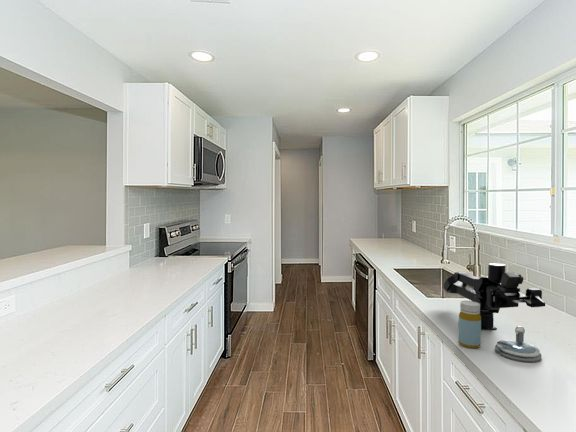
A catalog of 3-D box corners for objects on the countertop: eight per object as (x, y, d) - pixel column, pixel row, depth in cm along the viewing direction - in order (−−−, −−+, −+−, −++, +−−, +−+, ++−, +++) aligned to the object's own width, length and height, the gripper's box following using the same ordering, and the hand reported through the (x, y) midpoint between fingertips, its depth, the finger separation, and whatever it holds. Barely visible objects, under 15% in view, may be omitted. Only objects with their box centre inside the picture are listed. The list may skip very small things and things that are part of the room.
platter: (489, 343, 125) (489, 340, 125) (522, 342, 126) (522, 339, 126) (512, 358, 113) (512, 355, 113) (548, 357, 114) (549, 354, 114)
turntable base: (486, 345, 126) (486, 326, 126) (522, 345, 127) (522, 325, 127) (511, 363, 113) (512, 341, 113) (551, 362, 114) (552, 340, 113)
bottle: (475, 350, 122) (476, 307, 122) (454, 344, 127) (455, 302, 127) (483, 345, 127) (484, 303, 126) (463, 339, 132) (464, 299, 131)
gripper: (477, 271, 133) (504, 281, 118) (525, 270, 134) (559, 280, 119) (476, 301, 134) (503, 314, 118) (524, 300, 135) (558, 313, 119)
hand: (531, 304), depth 119 cm, fingers open, 9 cm apart
